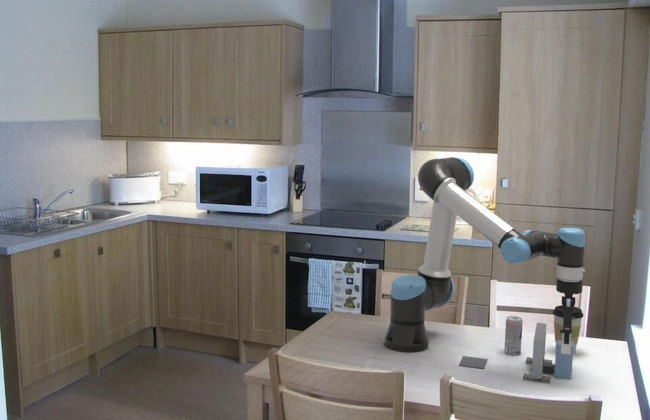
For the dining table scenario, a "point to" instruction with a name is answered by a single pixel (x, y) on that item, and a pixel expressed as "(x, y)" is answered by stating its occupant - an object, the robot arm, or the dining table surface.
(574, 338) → the coffee cup
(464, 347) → the dining table surface
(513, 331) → the energy drink
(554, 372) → the plug
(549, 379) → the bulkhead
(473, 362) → the mat
